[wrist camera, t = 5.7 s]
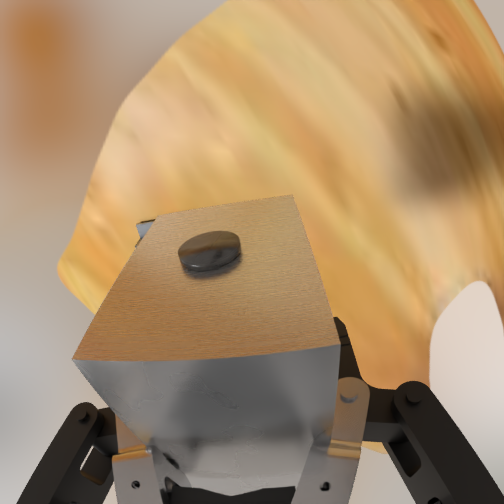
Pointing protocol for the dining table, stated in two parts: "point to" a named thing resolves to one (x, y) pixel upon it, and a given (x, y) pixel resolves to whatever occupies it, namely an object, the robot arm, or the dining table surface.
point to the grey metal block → (220, 345)
